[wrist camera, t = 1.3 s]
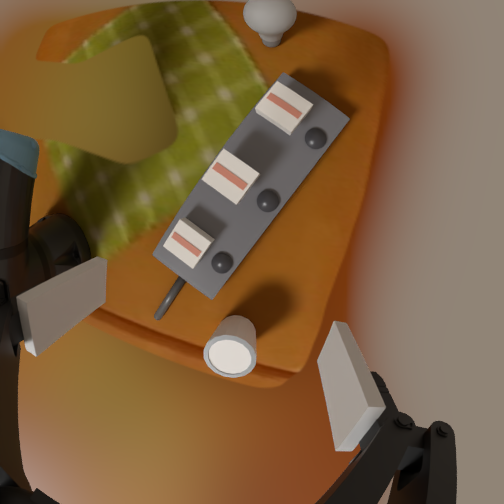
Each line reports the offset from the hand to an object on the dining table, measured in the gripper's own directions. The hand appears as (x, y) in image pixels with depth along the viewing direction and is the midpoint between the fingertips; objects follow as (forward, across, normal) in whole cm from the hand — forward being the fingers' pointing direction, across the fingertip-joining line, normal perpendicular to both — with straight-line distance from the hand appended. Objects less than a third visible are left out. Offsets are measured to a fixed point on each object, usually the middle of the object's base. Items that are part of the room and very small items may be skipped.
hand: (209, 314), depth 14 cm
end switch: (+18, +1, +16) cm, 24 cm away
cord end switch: (+20, -6, -2) cm, 21 cm away
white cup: (+23, +2, -14) cm, 27 cm away
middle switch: (+18, -3, +7) cm, 19 cm away
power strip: (+23, -3, +2) cm, 23 cm away
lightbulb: (+23, -3, +28) cm, 36 cm away
